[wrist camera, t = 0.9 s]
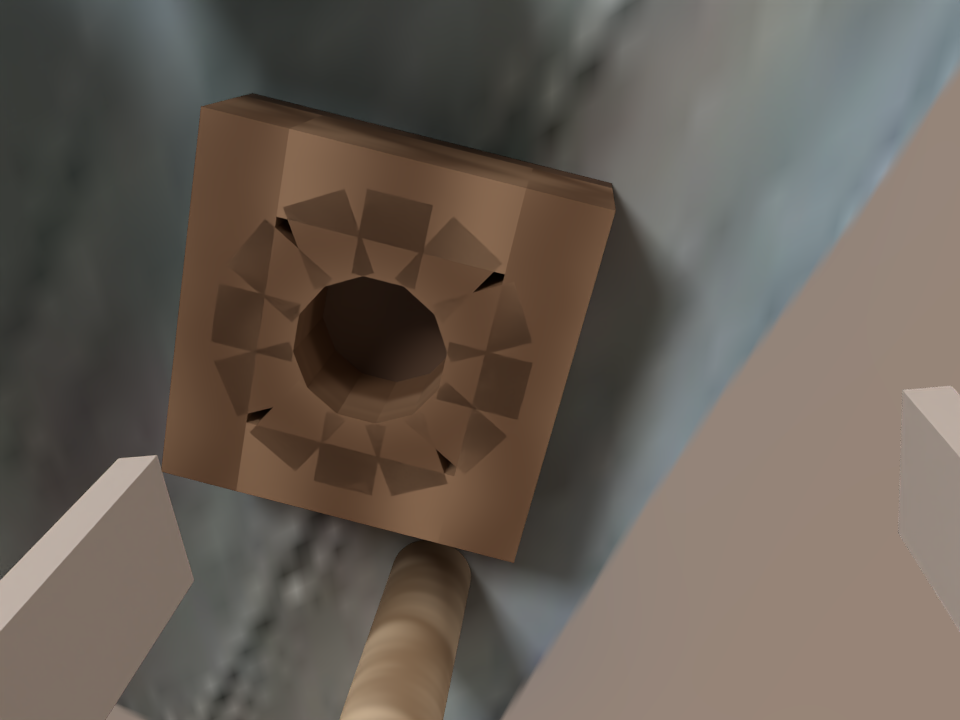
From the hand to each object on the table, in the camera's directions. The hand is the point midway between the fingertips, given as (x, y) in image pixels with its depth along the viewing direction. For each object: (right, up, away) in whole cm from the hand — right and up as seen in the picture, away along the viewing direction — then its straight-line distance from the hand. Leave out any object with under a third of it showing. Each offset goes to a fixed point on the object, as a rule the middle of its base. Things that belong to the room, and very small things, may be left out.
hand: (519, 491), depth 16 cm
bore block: (-4, +4, +21) cm, 22 cm away
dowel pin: (-3, -7, +25) cm, 27 cm away
